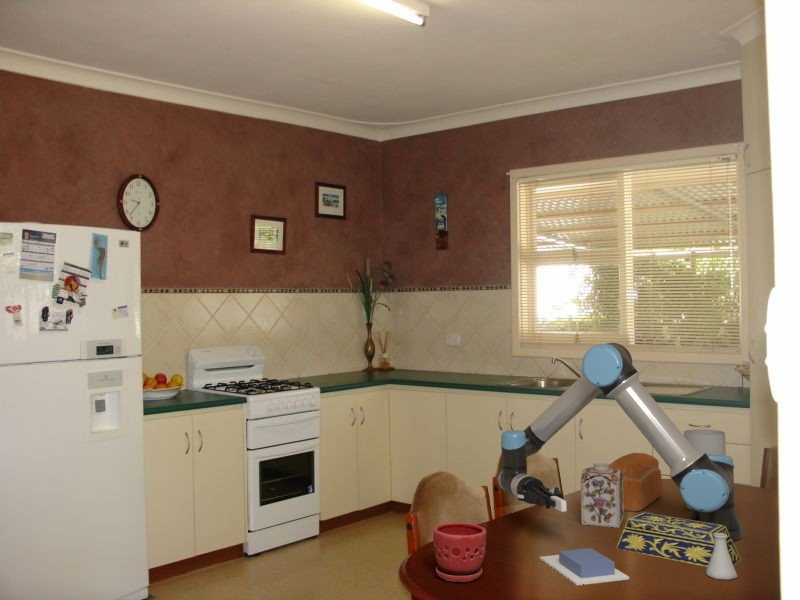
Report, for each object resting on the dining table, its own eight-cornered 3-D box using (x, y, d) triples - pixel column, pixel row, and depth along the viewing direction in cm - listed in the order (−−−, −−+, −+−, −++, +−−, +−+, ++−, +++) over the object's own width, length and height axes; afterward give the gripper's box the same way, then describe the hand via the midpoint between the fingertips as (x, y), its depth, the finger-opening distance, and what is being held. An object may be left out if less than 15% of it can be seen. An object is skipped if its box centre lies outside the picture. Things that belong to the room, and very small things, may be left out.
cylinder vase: (708, 503, 261) (705, 428, 261) (736, 511, 249) (733, 433, 249) (677, 507, 256) (675, 431, 257) (705, 515, 244) (702, 436, 245)
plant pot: (472, 589, 184) (471, 538, 185) (424, 580, 191) (423, 531, 192) (495, 572, 196) (494, 524, 196) (449, 564, 202) (448, 518, 203)
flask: (700, 571, 193) (699, 531, 193) (728, 570, 194) (727, 529, 194) (714, 581, 186) (713, 539, 186) (743, 580, 187) (742, 538, 187)
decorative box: (727, 572, 193) (726, 536, 193) (615, 549, 213) (614, 516, 214) (742, 561, 201) (741, 526, 201) (633, 540, 221) (632, 509, 222)
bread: (599, 508, 257) (598, 460, 258) (624, 492, 279) (623, 448, 279) (641, 513, 250) (640, 464, 250) (664, 496, 271) (662, 451, 272)
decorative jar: (580, 525, 237) (579, 466, 237) (586, 516, 248) (584, 459, 248) (621, 528, 233) (619, 468, 233) (625, 518, 243) (623, 461, 244)
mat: (539, 559, 206) (539, 556, 206) (587, 553, 209) (587, 551, 209) (576, 585, 185) (576, 582, 185) (629, 579, 189) (629, 576, 189)
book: (559, 551, 200) (580, 565, 188) (590, 548, 202) (614, 562, 190) (559, 563, 200) (581, 578, 188) (591, 559, 202) (614, 574, 190)
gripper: (549, 499, 231) (586, 518, 208) (507, 503, 227) (541, 523, 205) (547, 474, 231) (585, 489, 208) (506, 477, 228) (540, 494, 205)
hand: (563, 506), depth 206 cm, fingers closed
